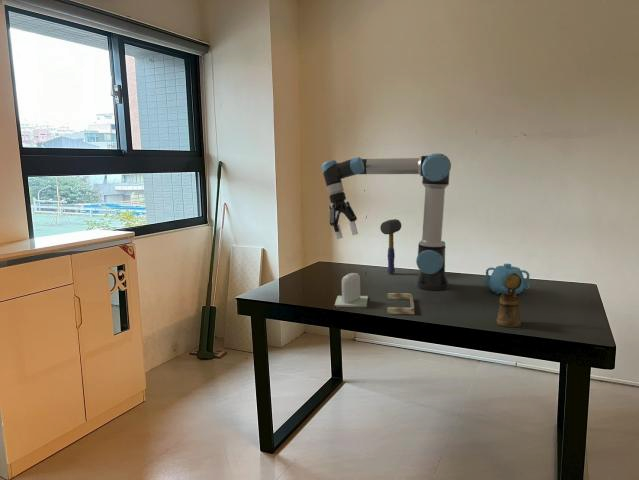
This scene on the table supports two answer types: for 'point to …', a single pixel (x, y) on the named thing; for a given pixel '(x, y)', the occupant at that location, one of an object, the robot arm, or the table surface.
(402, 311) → the frame
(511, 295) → the brown wooden ornament
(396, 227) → the rubber mallet
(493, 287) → the decorative pot
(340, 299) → the sage mat
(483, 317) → the table surface
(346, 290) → the grey upright block
